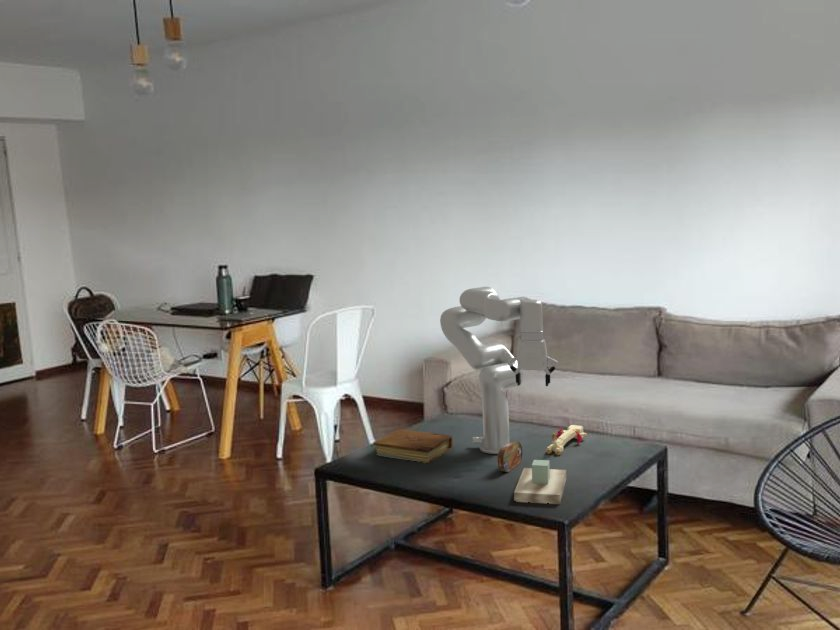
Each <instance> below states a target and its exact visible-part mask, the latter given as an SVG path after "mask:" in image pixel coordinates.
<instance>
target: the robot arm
mask: <svg viewBox="0 0 840 630" xmlns="http://www.w3.org/2000/svg"><path fill="white" fill-rule="evenodd" d="M459 305H460V306H453V307H450V308H448V309H446V310H444V311H443V312H442V313H441V315H440V319H439V320H440V321H439V322H440V328H441V331H442V334H443V335H444V336H445V339H447V340H448V341H449V342H450V344H452V345H453V346H454V348H456V349H457V350H458V352H459V353H460V355H461V356H462V357H463V359H464V360H465V361H466V362H467V364H468V365H469V366H470V367H471V369H473V370H475V371H478V372H479V373H478V383H479V388H480V392H481V393H480V394H481V402H482V403H481V405H482V428H483V430H482V431H483V436H480V437H479V436H472V441H471V442H472V443H474V444H475V445H476V444H478V445H479V444H480V445H479V450H480V452H483V453H486V454H491V455H492V454H493V455H498V453H499V450H500V449H501V448H502V447H504V446H505V445H507V444H508V443H509V442H511V441H510V418H509V417H510V413H509V401H508V398H507V396H506V394H504V392H503V391H504V390H507V389H512V388H516V387H519V386H521V385H522V384H523V382H524V381H525V371H544V372H545V376H544V377H545V387H548V386H549V384H551V374H552V373H553V372H554V371H555V369H556V368H557V366H558V364H559V361H558V360H556V359H555V358H552V357H550V356H549V355H548V349H547V343H546V339H544V324H543V322H544V321H543V319H544V318H543V317H544V316H543V303H542V301H540V299H532V298H528V297H527V296H518V297H510V298H504V299H500V296H499V294H498V293H497V292H496V290H495V289H494V288H492V287H491V286H481V287H474V288H468V289H466V290H464V291H463V292H462V293H461V294H460V296H459ZM487 319H488V320H491V321H496V322H509V321H514V320H520V322H519V323H520V331H519V332H516V338H518V337H519V338H520V339H519V340H518V342H517V352H516V356H515V357H514V355H513V354H512V353H511V351H509V350H508V348H507V347H506V346H505V345H504V344H502V343H500V342H490V343H482V342H481V341H480V340H479V339H478V337H477V336H476V335H475V334H473V333H472V332H471V331H468V330H467V329H466V328H471V327H477V326H480V325H482V324H483V323H484V322H485V321H486V320H487ZM548 362H549V363H551V364H552V366H551V367H550V368H549V366H548Z"/></svg>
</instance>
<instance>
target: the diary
mask: <svg viewBox="0 0 840 630" xmlns="http://www.w3.org/2000/svg"><path fill="white" fill-rule="evenodd" d="M373 445H374V446H375V447H376V448H375V449H376V453H377V454H382V455H390V456H395V457H401V458H405V459H412V460H417V461H420V462H426V463H429V462H431V461H432V462H434V461H435V460H437V459H438V458H440V457H441V456H443V455H444V454H446V453H447V451H448V450H449V451H451V450H453V446H454V444H453V436H452V435H449V434H443V433H435V432H434V433H433V432H427V431H425V432H424V431H419V430H411V429H402V428H398V429H396V430H394V431H392V432H390V433H388V434H387V435H384V436H383V437H382V438H380V439H377V440H376V441H374V442H373ZM450 449H451V450H450ZM449 451H448V452H449ZM445 452H446V453H445ZM442 454H443V455H442ZM440 455H441V456H440ZM439 456H440V457H439ZM437 457H438V458H437ZM436 458H437V459H436ZM434 459H435V460H434ZM433 460H434V461H433ZM432 462H431V463H432ZM426 463H425V464H426ZM429 464H430V463H429Z"/></svg>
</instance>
